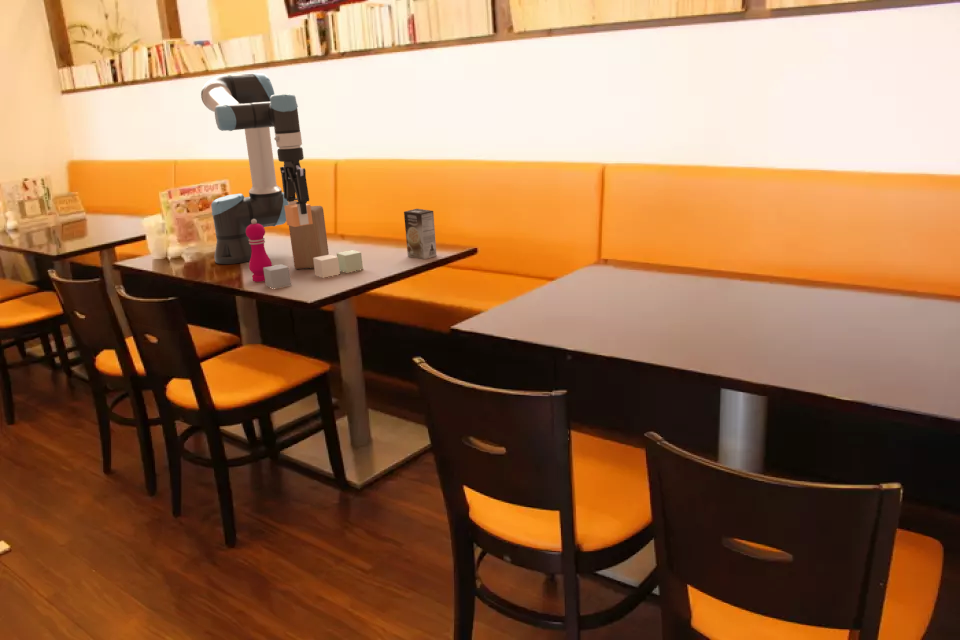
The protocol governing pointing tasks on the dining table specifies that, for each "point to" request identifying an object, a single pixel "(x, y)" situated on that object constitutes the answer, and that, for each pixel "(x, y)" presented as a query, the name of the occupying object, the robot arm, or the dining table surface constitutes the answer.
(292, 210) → the orange cube
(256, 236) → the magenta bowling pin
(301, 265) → the wooden block
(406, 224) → the coffee box
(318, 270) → the cream cube
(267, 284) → the grey cube
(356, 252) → the sage cube
